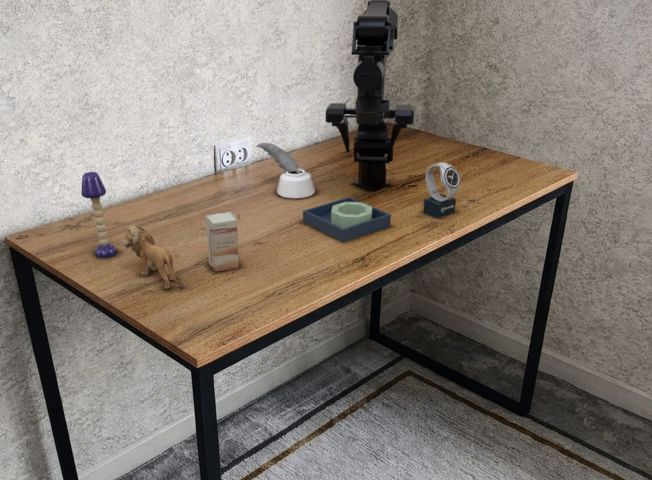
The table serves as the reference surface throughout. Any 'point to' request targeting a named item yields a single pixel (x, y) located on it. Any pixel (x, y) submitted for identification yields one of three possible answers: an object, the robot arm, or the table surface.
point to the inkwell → (290, 174)
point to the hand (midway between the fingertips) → (368, 153)
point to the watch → (440, 202)
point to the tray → (322, 221)
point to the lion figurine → (150, 253)
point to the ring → (350, 214)
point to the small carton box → (222, 241)
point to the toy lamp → (97, 211)
